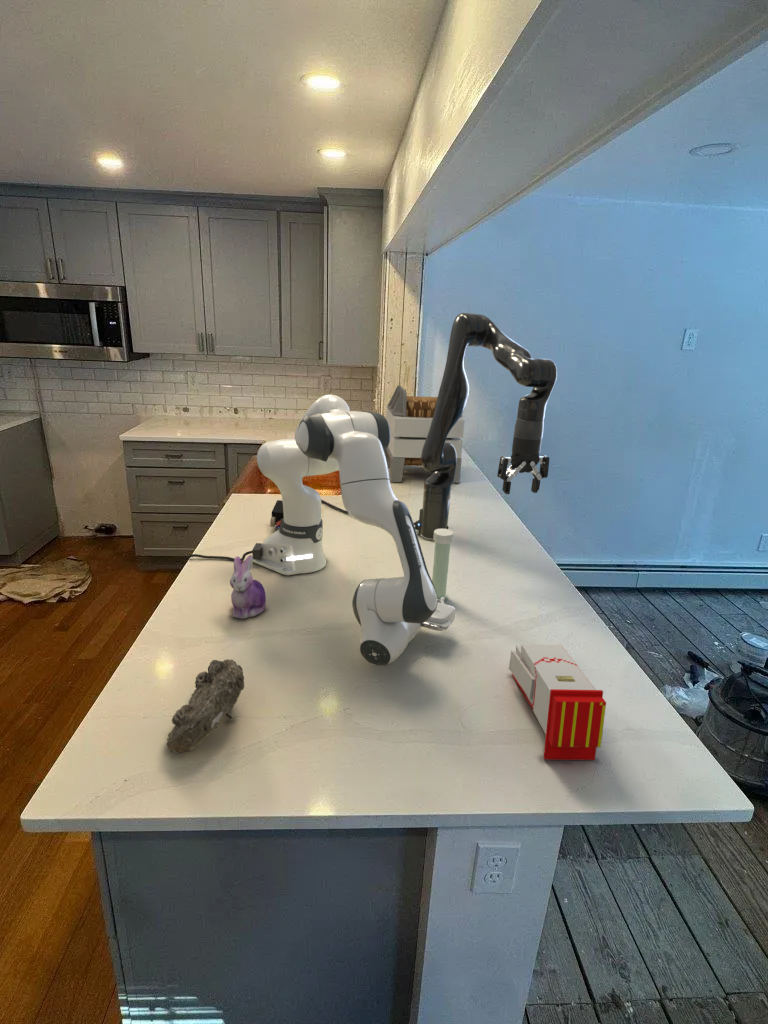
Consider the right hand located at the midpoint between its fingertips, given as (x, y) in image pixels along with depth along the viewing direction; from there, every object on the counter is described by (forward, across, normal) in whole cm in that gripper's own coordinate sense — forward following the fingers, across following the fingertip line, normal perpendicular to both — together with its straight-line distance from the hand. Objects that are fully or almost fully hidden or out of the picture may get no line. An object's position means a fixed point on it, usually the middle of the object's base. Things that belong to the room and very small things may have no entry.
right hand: (520, 492), depth 158 cm
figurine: (+28, +75, +2) cm, 80 cm away
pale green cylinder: (+28, +24, +4) cm, 37 cm away
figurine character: (+28, +60, -56) cm, 87 cm away
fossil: (+28, +84, +41) cm, 97 cm away
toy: (+28, +19, +53) cm, 63 cm away
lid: (+9, +24, +4) cm, 26 cm away
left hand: (+22, +32, +13) cm, 41 cm away
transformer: (+28, -12, -116) cm, 120 cm away
